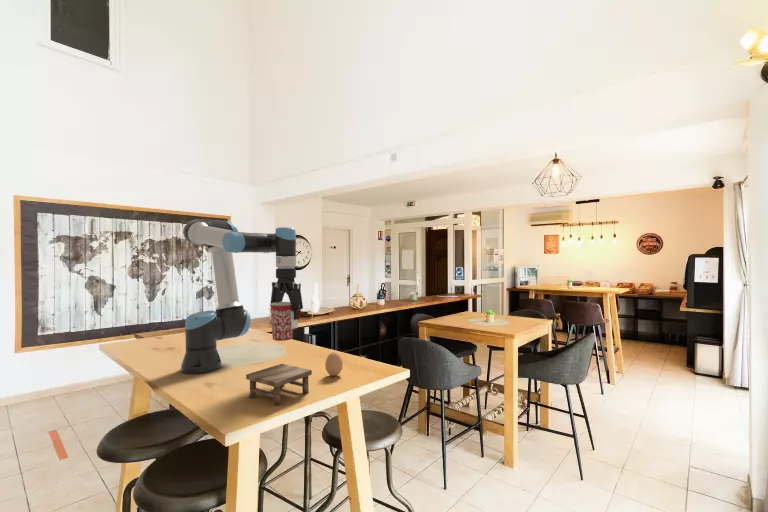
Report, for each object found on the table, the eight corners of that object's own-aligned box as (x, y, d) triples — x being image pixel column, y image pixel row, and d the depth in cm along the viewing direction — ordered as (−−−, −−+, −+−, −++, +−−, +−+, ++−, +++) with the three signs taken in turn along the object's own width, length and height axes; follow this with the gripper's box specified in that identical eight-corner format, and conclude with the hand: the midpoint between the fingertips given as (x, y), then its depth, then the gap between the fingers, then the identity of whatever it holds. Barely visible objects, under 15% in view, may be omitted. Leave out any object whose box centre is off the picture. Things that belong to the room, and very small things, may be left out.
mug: (278, 342, 137) (279, 305, 137) (265, 338, 143) (265, 303, 143) (307, 337, 147) (307, 302, 146) (293, 333, 153) (293, 300, 152)
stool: (246, 397, 124) (246, 374, 124) (282, 384, 137) (281, 363, 137) (276, 407, 116) (276, 382, 116) (311, 392, 128) (311, 370, 128)
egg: (346, 375, 146) (345, 352, 146) (332, 379, 141) (332, 355, 141) (335, 372, 151) (335, 349, 151) (322, 375, 146) (321, 352, 146)
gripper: (260, 267, 148) (260, 325, 148) (297, 268, 136) (298, 331, 136) (275, 267, 154) (275, 322, 154) (312, 267, 142) (313, 328, 142)
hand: (286, 326), depth 145 cm, fingers closed on mug, 8 cm apart
